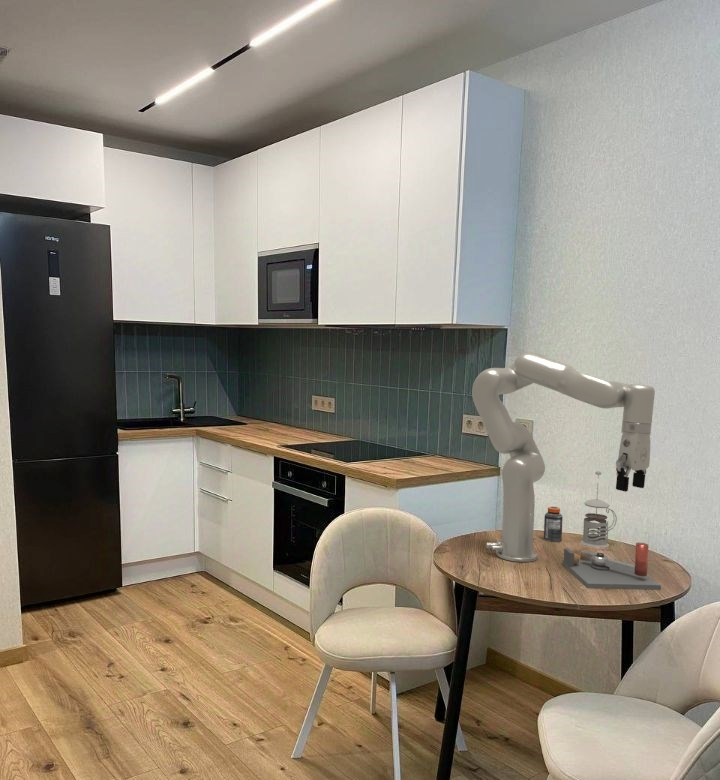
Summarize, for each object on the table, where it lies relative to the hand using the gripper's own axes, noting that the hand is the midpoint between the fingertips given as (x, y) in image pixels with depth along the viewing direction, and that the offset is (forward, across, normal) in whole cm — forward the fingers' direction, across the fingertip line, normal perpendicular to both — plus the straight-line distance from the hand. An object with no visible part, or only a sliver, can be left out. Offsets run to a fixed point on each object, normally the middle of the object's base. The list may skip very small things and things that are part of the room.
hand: (630, 488), depth 179 cm
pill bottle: (+27, +19, +34) cm, 48 cm away
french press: (+27, +27, +22) cm, 44 cm away
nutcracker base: (+26, -2, +3) cm, 26 cm away
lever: (+24, 0, +3) cm, 24 cm away
